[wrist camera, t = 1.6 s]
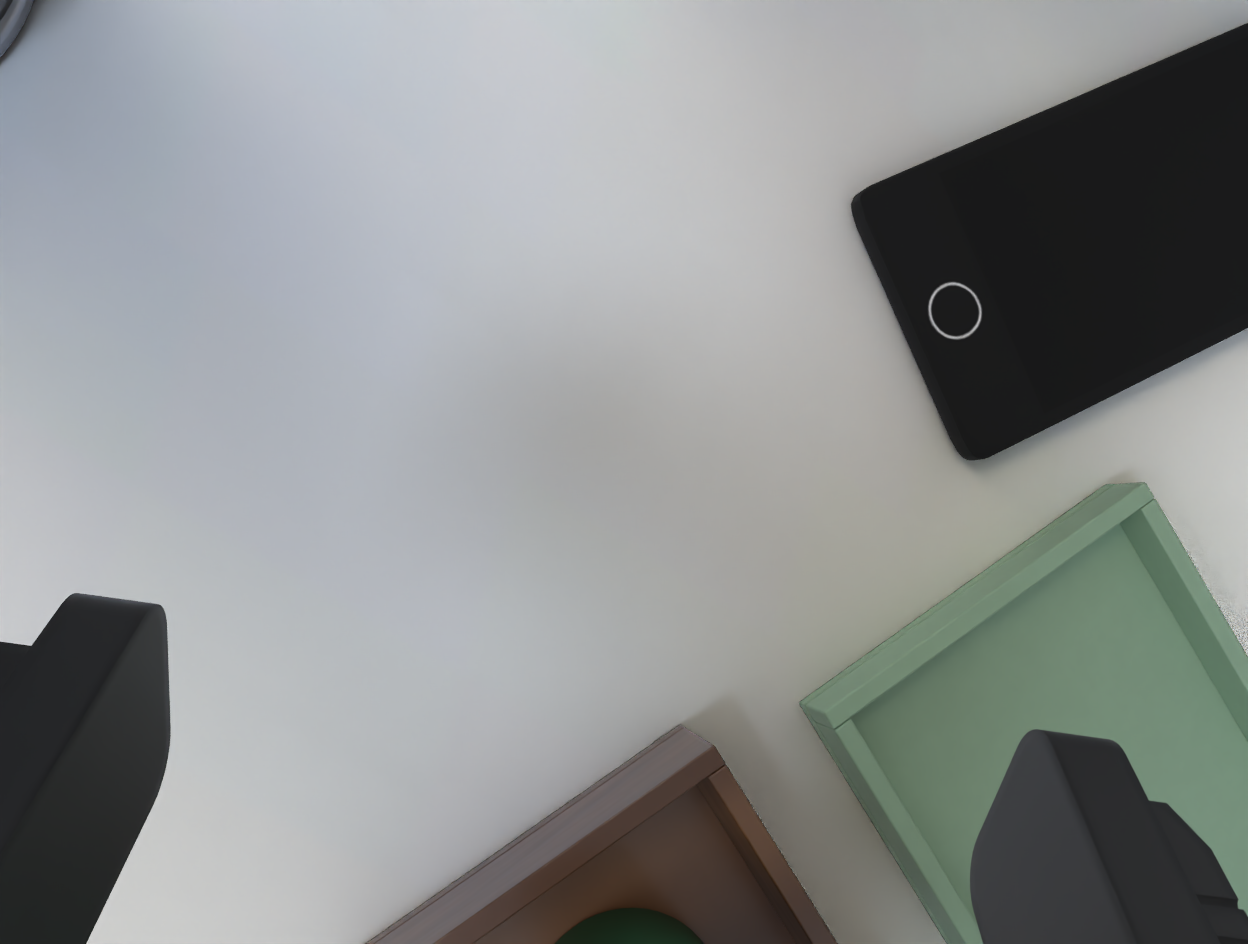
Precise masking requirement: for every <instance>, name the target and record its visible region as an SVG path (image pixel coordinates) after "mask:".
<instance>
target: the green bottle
mask: <svg viewBox="0 0 1248 944" xmlns="http://www.w3.org/2000/svg"><path fill="white" fill-rule="evenodd" d="M555 944H704V943H703V942H702V940H701V939H700V938H699V937H698V936H697V935H696V934H695V933H694V932H693V931H692V930H691V929H690V928H688V927H687V926H686V925H684V924H683V923H682V922H680V921H678V920H677V919H675V918H673V917H671V916H669V915H666V914H664V913H661V912H658V911H654V910H650V909H644V908H620V909H614V910H609V911H606V912H603V913H599V914H596V915H594V916H592V917H590V918H588V919H586V920H584V921H582V922H581V923H579V924H577V925H576V926H574V927H573V928H571V929H570V930H569V931H568V932H567V933H565V934H564V935H563V936H562V937H561V938H560V939H559V940H558V941H557V942H556V943H555Z"/></svg>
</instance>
